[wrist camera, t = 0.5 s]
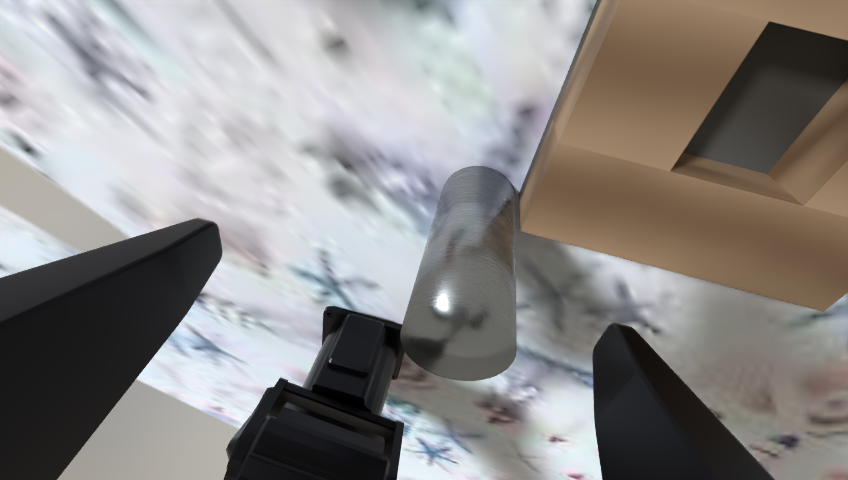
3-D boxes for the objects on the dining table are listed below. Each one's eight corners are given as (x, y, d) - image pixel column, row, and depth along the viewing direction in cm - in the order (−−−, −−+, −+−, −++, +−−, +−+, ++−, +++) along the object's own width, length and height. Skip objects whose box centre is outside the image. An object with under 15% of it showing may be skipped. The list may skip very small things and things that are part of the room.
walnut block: (780, 262, 20) (823, 311, 17) (519, 193, 20) (520, 231, 18) (1135, -82, 11) (1334, -94, 9) (672, -188, 12) (721, -232, 9)
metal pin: (501, 237, 22) (495, 392, 14) (435, 219, 22) (392, 363, 15) (525, 177, 20) (534, 324, 12) (450, 157, 20) (410, 290, 12)
